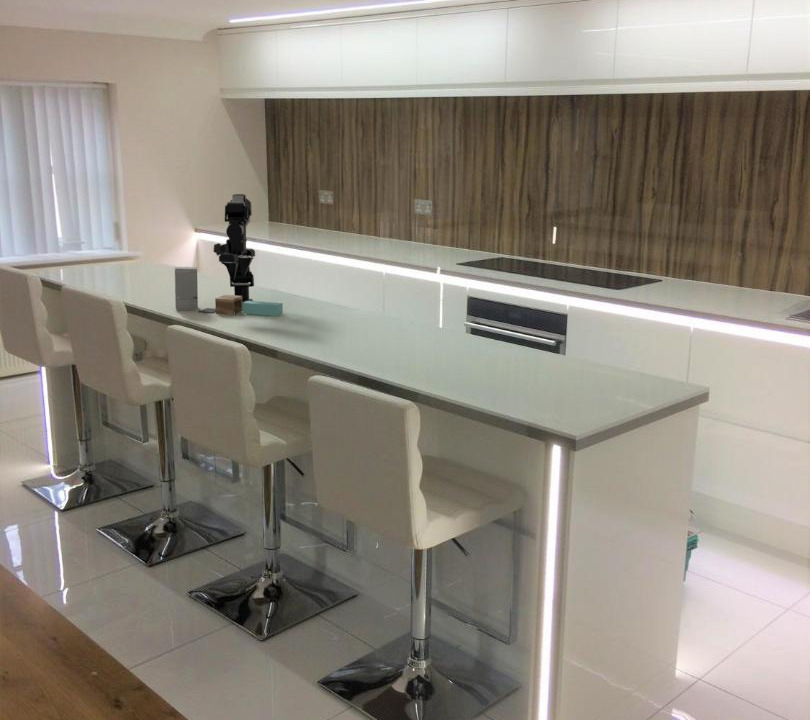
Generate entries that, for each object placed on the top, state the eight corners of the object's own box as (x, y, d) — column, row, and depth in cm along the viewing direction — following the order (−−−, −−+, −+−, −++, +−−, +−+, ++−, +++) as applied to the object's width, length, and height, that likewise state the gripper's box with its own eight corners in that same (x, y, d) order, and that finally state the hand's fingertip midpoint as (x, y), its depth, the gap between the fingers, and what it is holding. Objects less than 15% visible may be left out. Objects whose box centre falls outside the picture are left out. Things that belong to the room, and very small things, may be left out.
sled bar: (247, 311, 333) (247, 300, 332) (282, 313, 330) (282, 303, 329) (242, 313, 329) (242, 302, 328) (277, 316, 326) (277, 305, 325)
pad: (252, 311, 335) (252, 311, 335) (284, 314, 331) (284, 313, 331) (243, 316, 327) (243, 315, 327) (276, 318, 324) (276, 318, 324)
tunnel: (225, 309, 338) (225, 294, 336) (242, 311, 336) (242, 295, 334) (215, 313, 330) (215, 298, 329) (233, 315, 328) (232, 299, 327)
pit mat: (207, 308, 339) (207, 307, 339) (221, 309, 338) (221, 309, 338) (198, 312, 333) (198, 311, 333) (212, 313, 331) (212, 312, 331)
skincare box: (176, 311, 334) (173, 268, 330) (175, 307, 341) (173, 266, 337) (199, 310, 336) (197, 268, 332) (198, 306, 343) (196, 265, 339)
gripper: (228, 232, 342) (229, 273, 346) (204, 238, 325) (206, 280, 329) (255, 234, 339) (256, 275, 343) (232, 239, 322) (234, 282, 326)
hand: (238, 278), depth 335 cm, fingers open, 9 cm apart
